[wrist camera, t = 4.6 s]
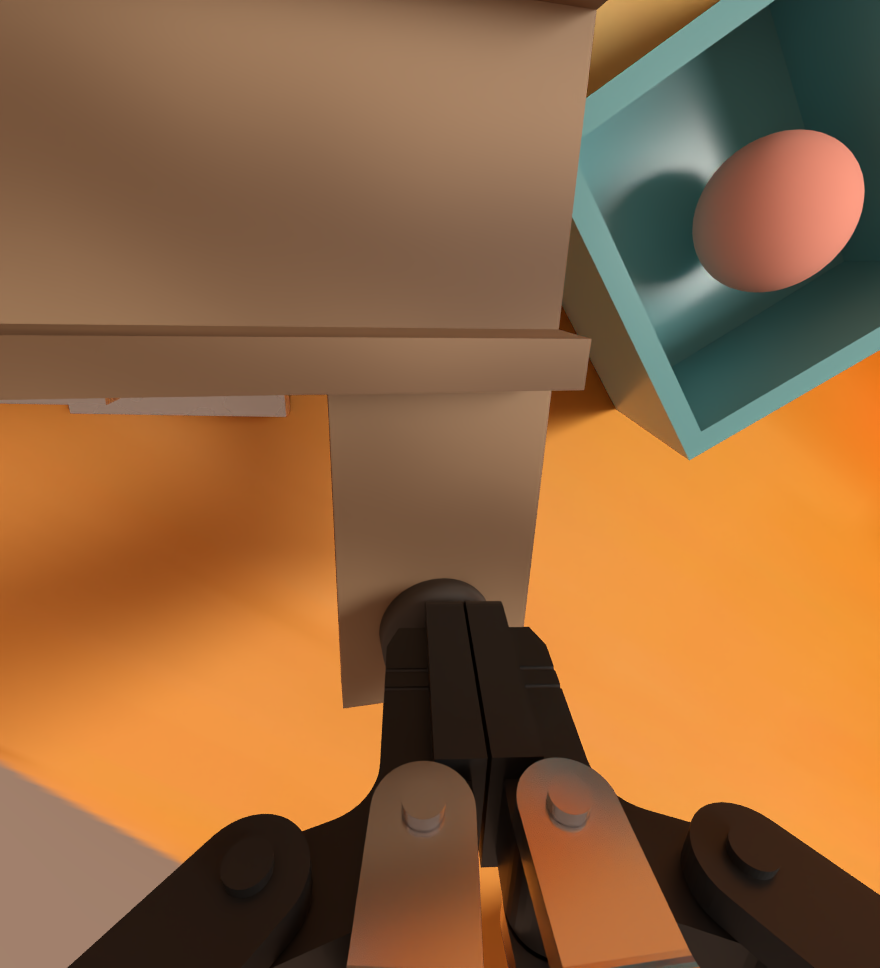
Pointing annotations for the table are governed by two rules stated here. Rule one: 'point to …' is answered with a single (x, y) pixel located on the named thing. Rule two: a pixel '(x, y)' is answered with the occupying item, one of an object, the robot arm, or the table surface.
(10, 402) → the fulcrum
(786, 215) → the ball
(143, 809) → the table surface
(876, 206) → the teal square bin
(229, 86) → the lever
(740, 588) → the table surface
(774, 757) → the table surface
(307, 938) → the robot arm
